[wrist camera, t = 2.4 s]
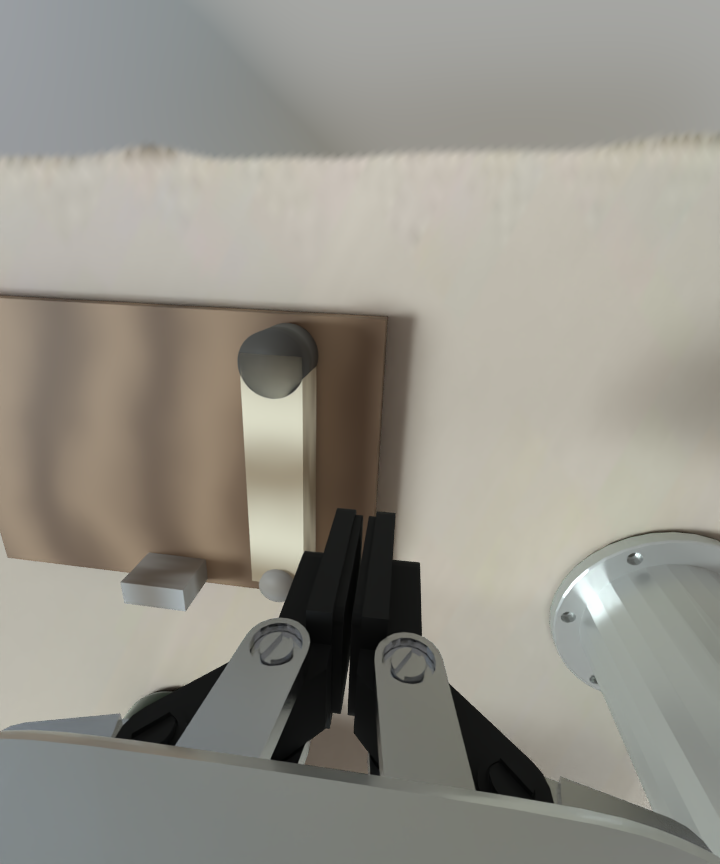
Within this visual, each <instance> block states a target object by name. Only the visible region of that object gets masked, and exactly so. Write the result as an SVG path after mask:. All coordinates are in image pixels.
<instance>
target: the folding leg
mask: <svg viewBox="0 0 720 864" xmlns="http://www.w3.org/2000/svg"><path fill="white" fill-rule="evenodd" d="M317 363H318V348H317V345H316V342H315V340H314V339H313V337H312V336H311V335H310V333H309V332H308V331H307V330H305V329H304V328H302V327H301V326H299V325H296V324H292V323H281V324H277V325H274V326H272V327H269V328H267V329H264V330H262V331H259V332H256V333H254V334H252V335H251V336H249V337H248V338H247V339H246V340H245V341H244V342H243V344H242V345H241V347H240V350H239V353H238V358H237V364H238V370H239V373H240V381H241V398H242V415H243V432H244V449H245V466H246V483H247V500H248V517H249V534H250V551H251V568H252V581H258V582H259V588H260V591H261V593H262V594H263V595H264V596H265V597H266V598H268V599H269V600H272V601H275V602H283V601H285V600H286V597H287V595H288V592H289V589H290V587H291V584H292V581H293V579H294V576H295V573H296V571H297V568H298V565H299V563H300V560H301V557H302V555H303V553H304V552H305V551H312V552H316V366H317Z"/></svg>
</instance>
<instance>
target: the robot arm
mask: <svg viewBox="0 0 720 864" xmlns="http://www.w3.org/2000/svg"><path fill="white" fill-rule="evenodd" d="M356 514H357V512H356V510H355V509H345V508H337V510H336V513H335V517H334V520H333V523H332V526H331V530H330V533H329V536H328V540H327V543H326V546H325V549H324V553H322V552H312V551H305V552H304V553H303V555H302V557H301V560H300V563H299V565H298V568H297V571H296V573H295V576H294V579H293V581H292V584H291V587H290V589H289V592H288V595H287V597H286V600H285V603H284V605H283V608H282V611H281V613H280V616H279V618H274V619H269V620H266V621H263V622H261V623H259V624H258V625H256V626H255V627H253V628H252V629H251V630H250V631H249V633H248V634H247V635H246V636H245V638H244V639H243V641H242V642H241V644H240V646H239V647H238V649H237V650H236V652H235V653H234V655H233V656H232V658H231V660H230V661H229V662H228V663H226V664H224V665H222V666H221V667H219V668H217V669H215V670H213V671H211V672H209V673H208V674H206V675H204V676H202V677H200V678H198V679H196V680H194V681H193V682H191V683H189V684H187V685H185V686H183V687H181V688H179V689H178V690H176V691H174V692H172V693H170V694H168V695H166V696H165V697H163V698H161V699H159V700H157V701H155V702H153V703H151V704H150V705H148V706H146V707H144V708H143V709H141V710H140V711H138V712H137V713H135V714H134V715H133V716H132V717H131V718H130V719H121V714H111V715H100V716H89V717H79V718H68V719H58V720H47V721H36V722H26V723H21V724H17V725H13V726H10V727H8V728H6V729H4V730H2V731H0V864H720V541H718V540H715V539H711V538H708V537H704V536H700V535H696V534H687V533H677V532H667V533H650V534H645V535H640V536H635V537H630V538H627V539H624V540H621V541H619V542H616V543H613V544H610V545H608V546H606V547H604V548H602V549H600V550H599V551H597V552H595V553H593V554H591V555H590V556H588V557H587V558H586V559H585V560H583V561H582V562H581V563H579V564H578V565H577V566H575V567H574V569H573V570H572V571H571V572H570V573H569V574H568V575H567V576H566V578H565V579H564V580H563V581H562V583H561V585H560V586H559V588H558V590H557V591H556V593H555V595H554V599H553V602H552V605H551V608H550V621H549V624H550V629H551V634H552V638H553V641H554V644H555V646H556V649H557V652H558V654H559V656H560V657H561V659H562V661H563V662H564V664H565V665H566V667H567V668H568V669H569V670H570V671H571V672H572V673H573V674H574V675H575V676H576V677H577V678H579V679H580V680H581V681H583V682H584V683H586V684H587V685H589V686H590V687H592V688H595V689H597V690H599V691H601V692H602V694H603V696H604V699H605V701H606V703H607V705H608V708H609V710H610V712H611V715H612V717H613V719H614V722H615V724H616V726H617V729H618V731H619V733H620V736H621V738H622V740H623V743H624V745H625V747H626V749H627V752H628V754H629V756H630V759H631V761H632V763H633V766H634V768H635V770H636V773H637V775H638V777H639V780H640V782H641V784H642V787H643V789H644V791H645V794H646V796H647V798H648V800H649V803H650V805H651V807H652V810H653V811H651V810H648V809H645V808H643V807H640V806H637V805H635V804H632V803H629V802H627V801H624V800H621V799H619V798H616V797H613V796H611V795H608V794H606V793H603V792H600V791H598V790H595V789H592V788H590V787H587V786H584V785H582V784H579V783H576V782H574V781H571V780H568V779H566V778H563V777H560V779H559V782H556V781H554V780H551V779H548V778H546V777H544V776H543V774H542V772H541V771H540V770H539V769H538V768H537V767H536V765H535V764H534V763H533V762H532V761H531V760H530V759H529V758H528V757H527V756H526V755H525V754H524V753H522V752H521V751H520V750H519V749H518V748H517V747H516V746H515V745H514V744H513V743H512V742H511V741H510V740H509V739H508V738H507V737H505V736H504V735H503V734H502V733H501V732H500V731H499V730H498V729H497V728H496V727H495V726H494V725H493V724H492V723H491V722H490V721H488V720H487V719H486V718H485V717H484V716H483V715H482V714H481V713H480V712H479V711H478V710H477V709H476V708H475V707H474V706H472V705H471V704H470V703H469V702H468V701H467V700H466V699H465V698H464V697H463V696H462V695H461V694H460V693H459V692H458V691H457V690H455V689H454V688H453V687H452V686H451V685H450V684H449V682H448V678H447V674H446V670H445V666H444V662H443V659H442V657H441V654H440V652H439V650H438V649H437V648H436V647H435V645H434V644H433V643H432V642H430V641H429V640H427V639H426V638H425V637H422V622H421V583H420V563H419V562H409V561H399V560H392V559H393V544H394V529H395V514H396V513H387V512H377V513H376V516H369V518H368V524H367V530H366V536H365V541H364V547H363V553H362V533H363V515H356ZM361 554H362V559H361ZM349 660H350V671H349V695H348V715H352V716H355V718H354V734H355V735H356V736H357V738H358V739H359V740H360V742H361V743H362V744H363V746H364V747H365V748H366V750H367V751H368V760H367V763H368V774H364V773H357V772H350V771H343V770H337V769H330V768H323V767H317V766H310V765H304V764H305V761H306V758H307V755H308V752H309V748H310V740H311V739H312V738H313V737H315V736H316V735H318V734H319V733H320V732H322V731H323V730H324V729H325V728H327V729H330V724H331V718H332V713H337V714H341V710H342V704H343V697H344V691H345V685H346V679H347V672H348V666H349Z"/></svg>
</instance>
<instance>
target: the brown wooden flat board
mask: <svg viewBox="0 0 720 864" xmlns="http://www.w3.org/2000/svg"><path fill="white" fill-rule="evenodd" d="M281 323H292V324H296V325H299V326H301V327H302V328H304V329H305V330H307V331H308V332H309V333H310V335H311V336H312V337H313V339H314V340H315V342H316V345H317V348H318V363H317V366H316V552H322V553H324V549H325V546H326V543H327V540H328V536H329V533H330V530H331V526H332V523H333V520H334V517H335V513H336V510H337V508H345V509H355V510H356V512H357V514H356V515H363V533H362V553H363V547H364V541H365V536H366V530H367V524H368V518H369V516H376V502H377V485H378V469H379V453H380V437H381V420H382V404H383V388H384V372H385V355H386V339H387V323H388V317H384V316H366V315H348V314H330V313H312V312H293V311H275V310H257V309H239V308H221V307H203V306H185V305H166V304H148V303H130V302H112V301H94V300H76V299H57V298H39V297H21V296H3V295H0V533H1V536H2V540H3V543H4V546H5V550H6V553H7V556H8V558H15V559H23V560H31V561H39V562H47V563H55V564H64V565H72V566H80V567H88V568H96V569H104V570H112V571H120V572H128V573H129V574H128V575H127V576H126V577H125V578H124V579H123V580H122V581H121V587H122V592H123V598H124V603H127V604H134V605H142V606H150V607H157V608H165V609H172V610H180V611H186V610H187V608H188V607H189V606H190V604H191V603H192V601H193V600H194V598H195V597H196V595H197V594H198V592H199V591H200V589H201V588H202V586H203V585H204V584H205V582H208V583H217V584H225V585H233V586H241V587H249V588H257V589H260V588H259V582H258V581H252V568H251V551H250V534H249V517H248V500H247V483H246V466H245V449H244V432H243V415H242V398H241V381H240V373H239V370H238V364H237V358H238V353H239V350H240V347H241V345H242V344H243V342H244V341H245V340H246V339H247V338H248V337H249V336H251V335H252V334H254V333H256V332H259V331H262V330H264V329H267V328H269V327H272V326H274V325H277V324H281ZM361 559H362V554H361Z"/></svg>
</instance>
